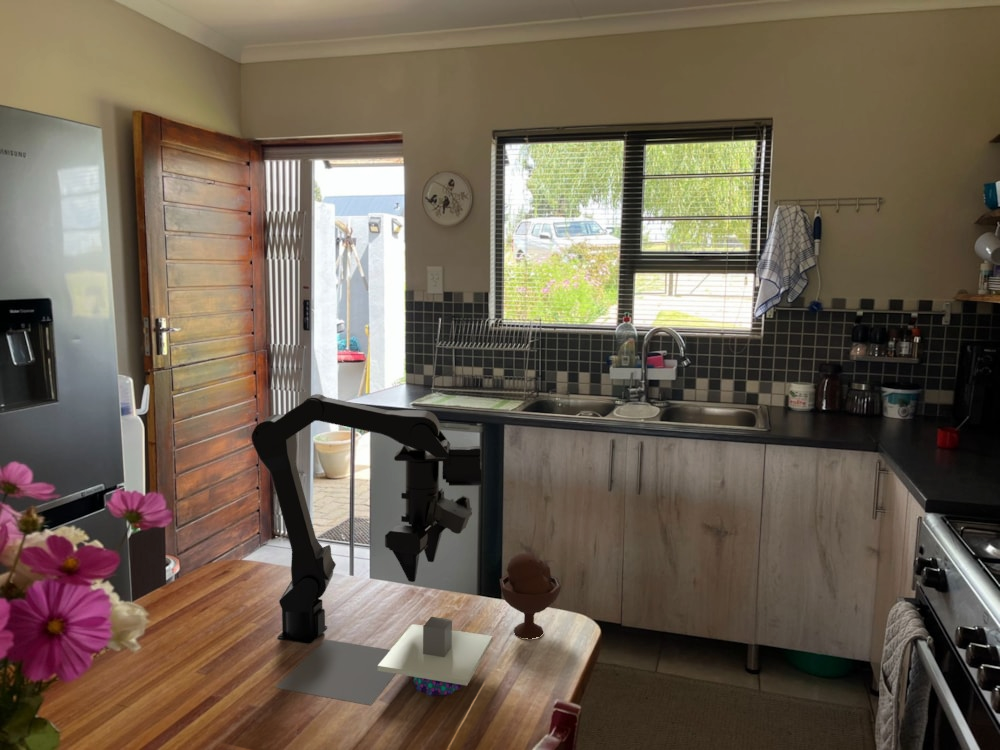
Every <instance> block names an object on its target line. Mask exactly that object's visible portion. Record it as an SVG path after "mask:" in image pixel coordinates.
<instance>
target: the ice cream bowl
mask: <svg viewBox="0 0 1000 750" xmlns="http://www.w3.org/2000/svg"><path fill="white" fill-rule="evenodd" d="M506 567H507V568H506V572H507V574H505V575H504V576H502V577H501V578H500V579H499V583H500V584H499V585H500V589H501V592H502V596H503V597H504V598H503V599H504V600H505V602H506V603H507V604H508V605H509V606H510V607H512V608H513V609H515V610H516V611H519V612H521V613H522V614H524V616H523V617H524V619H523V622H521V623H519V624H517V625H516V626H515V627H514V628H513V634H514V633H515V634H514V636H515V635H516V637H517V636H518V637H517V638H519V637H521V638H528V639H532V638H536V637H540V636H541V635H542V634H543V633H544V630H543V627H542V626H540V625H538V624H537V623H535V614H536V613H541V612H543V611H545V610H546V609H547V608H549V606H550V605H552V604H553V603H554V602H555V601H556V600H557V599H558V597H559V595H560V592H561V589H562V584H561V582H560V580H559V578H558V577H556V576H554V575H552V574H551V567H550V566H549V565H548V563H546V562H544V561H543V559H540V558H538V557H536V556H535V555H534V554H532V553H525V552H522V553H519V554H516V555H513V557H512V558H510V560H509V562H508V564H507V566H506ZM544 634H545V633H544ZM521 638H520V639H521ZM540 638H541V637H540Z"/></svg>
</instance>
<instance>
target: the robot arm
mask: <svg viewBox="0 0 1000 750" xmlns="http://www.w3.org/2000/svg"><path fill="white" fill-rule="evenodd" d="M316 421H317V422H323V423H327V424H331V425H337V426H341V427H346V428H349V429H350V428H351V429H356V430H361V431H366V432H369V433H370V432H371V433H374V434H379V435H383V436H386V437H387V438H389V439H392V440H393V441H395V442H397V443H399V444H401V445H403V446H402V447H401V449H400V450H398V451H397V452H396V453H395V456H394V458H393V460H394V461H396V462H405V490H403V491H402V492H401V499H403V500H405V512H404V513H403V514H402V515H401V517H400V518H401V519H400V520H401V521H400V522H403V523H408V525H407V524H397V525H396V526H394V527H393V528H392V529H391V530H390V531H388V532H387V533H386V534H385V535H384V547H385V548H387V549H388V550H389V551H391V552H392V553H393V554H394V556H395V558H396V560H397V561H398V563H399V565H400V567H401V569H402V571H403V573H404V575H405V576H406V579H407V581H408V582H410V583H415V582H416V578H417V574H418V567H419V561H420V555H421V553H422V552H423V551H424V554H425V557H426V560H427V562H429V563H433V562H435V559H436V555H437V552H438V549H439V548H438V547H439V544H440V541H441V537H442V534H443V532H444V530H445V529H448V530H450V532H452V533H454V534H456V535H458V534H459V535H460V534H461V533H462V532H463V530H464V529H466V527H467V525H468V522H469V520H470V517H471V516H472V515H473V511H472V510H473V508H472V507H471V500H470V498H469V497H467V496H465V495H461V496H460V497H459V498H457V499H456V500H455V499H453V498H451V499H448V498H446V497H445V490H443V488H441V487H440V462H442V475H441V476H442V481H443V480H444V481H445V483H446V484H448V487H450V486H451V487H452V486H453V487H454V486H455V487H456V486H457V487H459V486H460V487H482V461H481V448H482V447H481V446H480V445H471V446H451V443H450V441H449V439H447V437H446V436H445V434H444V433H443V432H442V431H441V424H440V420H439V419H438V417H437V416H436V415H435V413H433V412H431V411H429V410H417V409H402V410H401V409H400V410H392V409H390V410H389V409H383V408H379V407H374V406H369V405H364V404H360V403H354V402H351V401H346V400H341V399H337V398H332V397H327V396H325V395H323V394H319V393H315V394H312V395H311V396H309V397H308V398H306V399H305V400H303V402H302V403H300V404H299V405H297V406H295V407H294V408H292V409H291V410H289V411H288V412H286V413H284V414H280V413H279V414H276V413H275V414H273V415H270V416H269V417H267V418H265V419H264V420H263V421H261V422H260V423H257V425H256V426H255V427H254V429H253V431H252V433H251V435H250V436H251V443H252V445H253V447H254V450H255V452H256V454H257V456H258V458H259V460H260V462H261V463H262V464H263V465H264V467H265V468H266V469H267V470H268V472H269V474H270V475H271V476H270V477H271V479H272V483H273V486H274V487H273V488H274V491H275V494H276V498H277V501H278V505H279V508H280V512H281V515H282V520H283V523H284V527H285V530H286V533H287V538H288V541H289V544H290V548H291V563H290V564H291V565H290V568H291V569H290V572H291V573H290V576H291V580H290V583H289V584H288V586H287V587H286V589H285V591H284V592H283V594H282V596H281V597H280V599H279V600H278V601H279V603H278V604H279V605H280V607H281V622H282V623H281V624H282V627H281V628H282V629H281V631H282V632H281V633H280V634H278V635H277V637H276V638H277V640H283V641H289V642H295V643H301V644H307V645H310V644H312V643H313V642H314V641H315V640H316V639H317V638H319V637H320V636H321V635H322V634H323V633H324V632H325V631H326V630H328V626H327V625H326V614H325V613H326V611H325V610H326V609H324V608H323V599H321V597H322V596H323V595H324V593H326V590H327V588H328V586H329V584H330V582H331V580H332V577H333V575H334V570H335V568H336V565H337V563H336V562H335V561H334V558H333V556H332V548H331V547H332V546H331V545H330V544H328V545H326V546H322V545H321V544H320V542H319V541H318V539H317V538H316V537H317V536H316V533H315V530H314V525H313V522H312V518H311V515H310V510H309V508H308V507H309V506H308V503H307V500H306V497H305V496H306V495H305V492H304V489H303V485H302V481H301V477H300V474H299V470H298V466H297V452H298V449H297V448H298V442H297V433H299V432H301V431H302V430H304V429H305V428H307V427H308V426H309V425H311V424H313V423H314V422H316Z"/></svg>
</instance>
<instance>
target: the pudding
mask: <svg viewBox="0 0 1000 750" xmlns="http://www.w3.org/2000/svg"><path fill="white" fill-rule="evenodd" d="M412 683H413V684H414V686H415V687H414V689H416V691H418V692H419V693H425V694H426V695H427V696H431V697H436V696H439V695H441V696H448V695H449V696H450V695H452V694H453V693H454V691H459V690H460V689H462V688H463V685H460V684H454V683H448V682H442V681H436V680H430V679H425V678H419V677H413V681H412Z"/></svg>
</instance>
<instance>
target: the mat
mask: <svg viewBox="0 0 1000 750" xmlns="http://www.w3.org/2000/svg"><path fill="white" fill-rule="evenodd" d="M390 650H391V649H386V648H382V647H376V646H375V647H374V646H370V645H369V646H367V645H363V644H356V643H350V642H349V643H348V642H344V641H337V640H331V639H324V640H323V641H322V642H321V643H320V644H319V645H318V646H317V647H316V648H315V649H314V650H313V651H312V652H311V653H310V654H309V655H307V656H306V657H305V658H304V659H302V661H301V662H300V663H299V664H298V665H296V667H295V668H294V669H293V670H292V671H290V673H289V674H287V676H286V677H284V678H283V679H282V681H281V682H279V683H278V684H277V685H276V686H275V687H274V689H279V690H284V691H289V692H295V693H301V694H306V695H311V696H317V697H321V698H329V699H333V700H338V701H343V702H344V701H345V702H349V703H356V704H361V705H366V706H372V705H373V703H374V702H375V701H376V700H377V699H378V697H379V696H380V695H381V693H382V692H383V691H384V690H385V688H386V687H387V686H388V685H389V683H390V682H391V681H392V680H393V679H394V677H395V676H396V674H395V673H389V672H383V671H378V664H379V663H380V662H381V661H382V660H383V658H384V657H385V656H386V655H387V654H388V652H389V651H390Z"/></svg>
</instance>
